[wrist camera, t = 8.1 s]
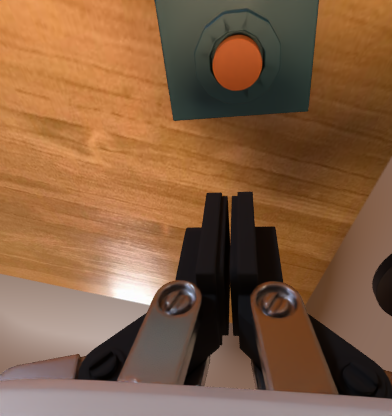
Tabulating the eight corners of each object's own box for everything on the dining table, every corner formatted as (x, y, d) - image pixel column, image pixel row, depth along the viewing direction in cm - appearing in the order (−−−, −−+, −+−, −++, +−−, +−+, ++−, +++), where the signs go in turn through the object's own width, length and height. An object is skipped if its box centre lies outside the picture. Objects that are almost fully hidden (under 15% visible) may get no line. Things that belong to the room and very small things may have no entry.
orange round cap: (261, 31, 24) (262, 35, 22) (260, 82, 26) (262, 89, 24) (211, 36, 24) (210, 41, 23) (215, 86, 26) (214, 92, 25)
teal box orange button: (313, -31, 25) (328, -30, 21) (302, 99, 31) (312, 119, 27) (160, -11, 26) (147, -7, 22) (178, 108, 32) (170, 129, 28)
